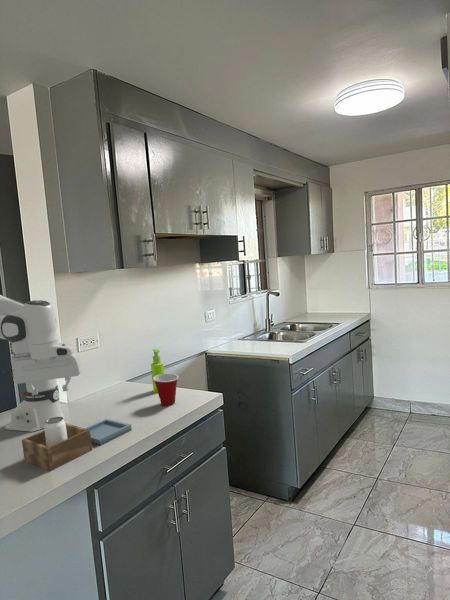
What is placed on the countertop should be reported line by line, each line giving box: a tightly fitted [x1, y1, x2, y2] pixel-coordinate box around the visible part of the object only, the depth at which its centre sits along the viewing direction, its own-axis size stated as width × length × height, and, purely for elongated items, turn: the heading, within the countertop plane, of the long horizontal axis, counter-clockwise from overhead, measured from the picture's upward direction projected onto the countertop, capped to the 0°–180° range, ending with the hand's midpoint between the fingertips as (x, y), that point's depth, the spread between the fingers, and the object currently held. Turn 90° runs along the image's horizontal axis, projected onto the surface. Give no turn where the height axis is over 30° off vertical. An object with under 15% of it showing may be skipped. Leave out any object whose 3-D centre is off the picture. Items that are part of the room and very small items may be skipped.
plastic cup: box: [153, 373, 180, 407], centre depth 174 cm, size 11×11×12 cm
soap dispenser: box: [150, 348, 165, 393], centre depth 193 cm, size 6×7×20 cm
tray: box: [84, 418, 132, 446], centre depth 148 cm, size 14×14×2 cm
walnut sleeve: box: [21, 422, 93, 472], centre depth 133 cm, size 15×15×7 cm
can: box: [43, 417, 68, 447], centre depth 133 cm, size 6×6×12 cm
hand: (50, 392), depth 132 cm, fingers open, 8 cm apart
